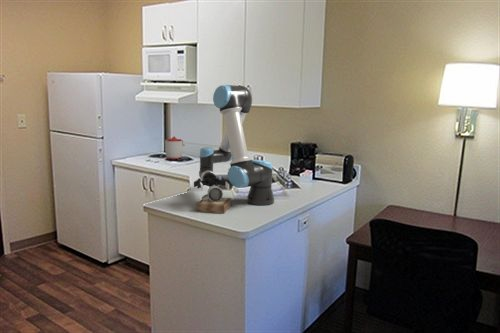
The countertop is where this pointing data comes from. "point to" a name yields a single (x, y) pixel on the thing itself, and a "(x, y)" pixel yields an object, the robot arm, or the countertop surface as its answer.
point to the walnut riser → (214, 206)
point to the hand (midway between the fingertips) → (215, 187)
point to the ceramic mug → (213, 194)
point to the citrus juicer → (174, 148)
